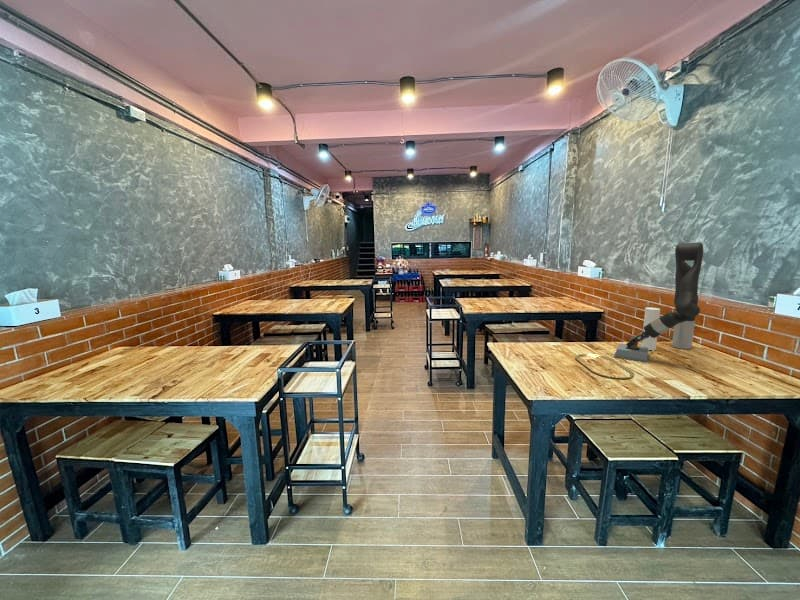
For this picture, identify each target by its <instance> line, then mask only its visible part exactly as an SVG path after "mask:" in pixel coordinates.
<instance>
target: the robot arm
mask: <svg viewBox="0 0 800 600" xmlns="http://www.w3.org/2000/svg"><path fill="white" fill-rule="evenodd" d="M674 257H675V273H674V274H675V276H674V279H675V280H674V281H675V289H674V290H675V292H674V298H673V305H674V308H675V310H676V311H675V312H672V311H669V312H667V313H665V314H663V315H662V316H660V317H659V318H658V319H656V320H654V321H652V322H651V323H649V324H648V325H646V326H644V330H645V332H644V331H643V330H642V332H640V333H639V334H637V335H635V336H636V337H635V338H634V339H635V340H636V341H635V340H634V339H632V340H631V341H630V342H629V341H628V342H627V343H626V345H627V346H628V347H630V346H632V345H633V344H636V343H637V342H638V343H640V342H641V343H642V341H643V340H645V339H647V338H649V336H650V337H652V338H656V337H657V338H658V337H659V336H661V335H663V334H664V333H666V332H668V331H669V330H670V329H671V328H673V334H672V343H671V346H672V347H674V348H677V349H681V350H692V347H693V340H694V331H695V330H694V329H695V325H696V324H695V323H696V318H697V316H698V315H699V314H700V312H701V308H700V307H699V305H698V303H699V295H698V290H699V278H700V273H701V268H702V265H703V264H702V263H703V257H704V244H703V243H702V242H684V243H678V244H677V245H676V247H675V250H674ZM688 261H689V262H690V261H693V265H692V266H691V265H690V264H689V263H687V262H688Z"/></svg>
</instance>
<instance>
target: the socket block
mask: <svg viewBox="0 0 800 600" xmlns="http://www.w3.org/2000/svg"><path fill="white" fill-rule="evenodd" d="M626 344H627V343H626ZM626 344H625V343H619V344H618V345H617V347H616V350H615V352H614V355H613V358H615V359H620V360H627V361H632V360H634V361H633V362H639V361H641V362H640V363H645V362H649V363H650V358H651V356H650V355H651V354H650V353H649V351H648V347H642V346H641V345H637V350H632V349H628V348H629V347H628V346H627V345H626Z"/></svg>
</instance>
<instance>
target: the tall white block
mask: <svg viewBox="0 0 800 600" xmlns="http://www.w3.org/2000/svg"><path fill="white" fill-rule="evenodd" d="M660 314H661V308H657V307H645V309H644V315H643V317H644V318H643V326H642V327H643V328H642V332H643V331H644V332H645V330H644V326H646V325H648V324H649V323H651V322H652V321H654V320H656V319H658V318H660V317H661V316H660ZM657 342H658V337H656V338H652V337H650V336H649V338H647V339H645V340H643V341H641V345H640V346H642V347H648V350H656V351H657Z"/></svg>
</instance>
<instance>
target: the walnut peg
mask: <svg viewBox="0 0 800 600" xmlns="http://www.w3.org/2000/svg"><path fill="white" fill-rule="evenodd" d="M636 336H637V335H635V334H634V335H633V334H630V335H629V338H628V339H629V340H628V342H630V341H631V340H632V339H634V338H635V337H636ZM634 340H635V339H634ZM635 341H636V340H635ZM637 346H639V342H637V343H636V344H633V345H632V346H630V347H629V348H628V349H632V350H637Z"/></svg>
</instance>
